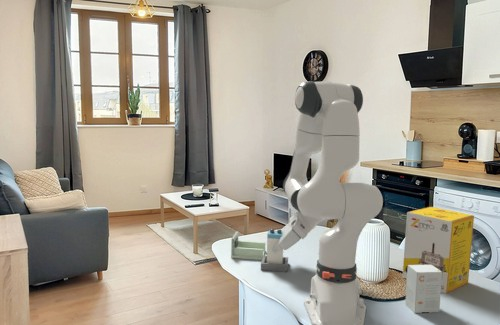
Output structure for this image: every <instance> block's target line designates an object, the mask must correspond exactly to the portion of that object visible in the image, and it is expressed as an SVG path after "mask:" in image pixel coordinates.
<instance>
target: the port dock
mask: <svg viewBox="0 0 500 325" xmlns="http://www.w3.org/2000/svg"><path fill="white" fill-rule="evenodd" d="M230 245H231V250H230V252H231V253H230V258H232V259H241V260H242V259H243V260H253V261H254V260H257V261H262V258H263V256H265V253H266V242H265V241H250V240H239V231H238V230H237V231H235V232H234V234H233V236H232V238H231V244H230Z"/></svg>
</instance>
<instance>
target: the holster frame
mask: <svg viewBox="0 0 500 325" xmlns="http://www.w3.org/2000/svg"><path fill="white" fill-rule="evenodd" d="M288 265H289V257H288V256H283V264H274V263H267V255H264V256H263V258H262V260H261V262H260V271H271V272H272V271H273V272H285V273H286V272H288V267H289V266H288Z"/></svg>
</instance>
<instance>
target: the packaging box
mask: <svg viewBox="0 0 500 325" xmlns="http://www.w3.org/2000/svg"><path fill="white" fill-rule="evenodd" d="M474 221H475V215H473V214H469V213H463V212H458V211H453V210H450V209H449V210H448V209H445V208H439V207H434V206H427V207H423V208H420V209H414V210H411V211H407V212H406V222H405V237H404V239H405V240H404V253H403V266H402V268H403V269H402V279H404V278H406V279H405V280H407V269H408V265H433V266H434V267H436V268H437V269H439V270H440V271H442V281H441V293H442V292H443V293H442V294H445V293H446V294H448V293H450V292H452V291H455V290H456V289H458V288H460V287H463V286H464V285H467V284H468V283H469V276H470V267H471V265H470V264H471V253H472V242H473V231H474Z"/></svg>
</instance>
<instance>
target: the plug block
mask: <svg viewBox="0 0 500 325" xmlns="http://www.w3.org/2000/svg"><path fill="white" fill-rule="evenodd" d="M283 232H284V231H282V229H280V228H279V229H278V228H277V230H275V229H274V228H270V229H269V230H268V232H267V235H266V236H267V237H266V238H267V241H266V256H267V263H274V264H283V257H284V249H283V248H282V249H281V250H279V251H277V252H276V253H274V252H273V251H272V249H273V248H274V247H275V246H276V245H278V243H279V240H280V237H281V236H282V235H283Z"/></svg>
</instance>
